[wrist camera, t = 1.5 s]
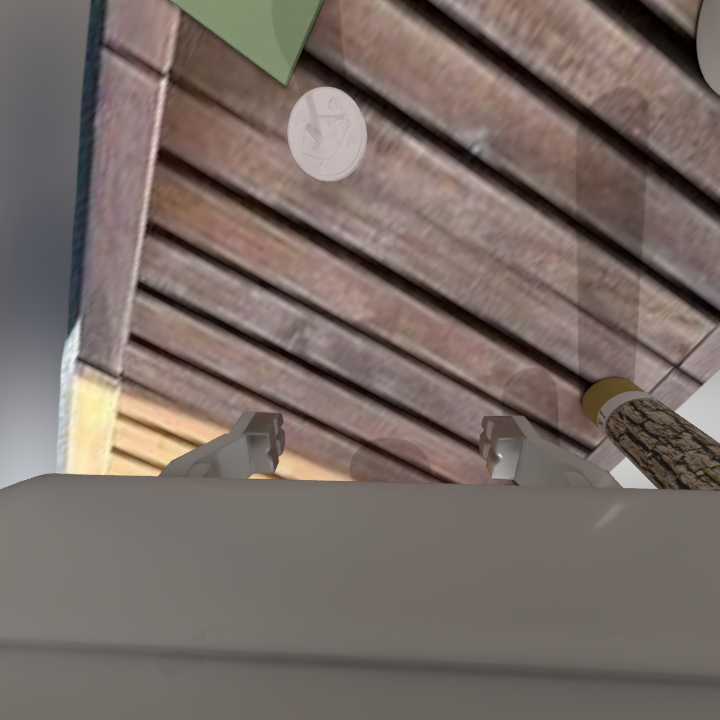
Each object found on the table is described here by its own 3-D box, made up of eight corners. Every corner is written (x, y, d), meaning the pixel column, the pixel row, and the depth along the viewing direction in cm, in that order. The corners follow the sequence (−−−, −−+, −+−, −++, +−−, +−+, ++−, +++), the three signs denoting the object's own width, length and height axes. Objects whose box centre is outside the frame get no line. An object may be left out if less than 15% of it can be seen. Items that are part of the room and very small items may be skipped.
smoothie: (298, 139, 35) (251, 100, 22) (352, 103, 34) (333, 38, 21) (329, 199, 37) (302, 194, 25) (381, 167, 36) (380, 143, 23)
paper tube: (614, 365, 43) (871, 539, 20) (644, 396, 45) (916, 591, 22) (568, 398, 45) (753, 588, 23) (598, 427, 47) (800, 632, 24)
